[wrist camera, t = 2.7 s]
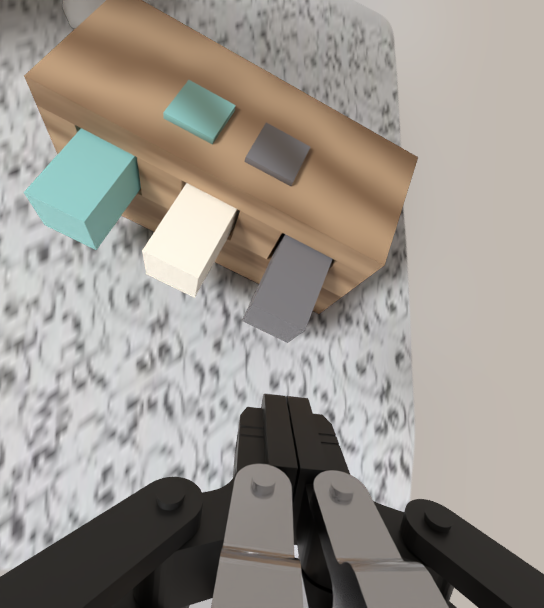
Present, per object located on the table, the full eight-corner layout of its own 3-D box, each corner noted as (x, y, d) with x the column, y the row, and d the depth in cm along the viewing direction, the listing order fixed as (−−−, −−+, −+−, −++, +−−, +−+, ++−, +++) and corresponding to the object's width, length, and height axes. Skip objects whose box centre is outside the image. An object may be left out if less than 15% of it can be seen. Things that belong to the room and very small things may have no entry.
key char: (287, 342, 28) (304, 330, 24) (241, 320, 28) (252, 304, 24) (327, 244, 32) (347, 220, 28) (287, 223, 31) (302, 197, 28)
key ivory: (194, 297, 27) (198, 278, 23) (146, 274, 27) (142, 250, 23) (247, 202, 31) (257, 172, 27) (205, 180, 31) (209, 147, 27)
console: (318, 314, 36) (388, 262, 24) (73, 191, 33) (20, 68, 22) (350, 230, 40) (421, 153, 28) (135, 116, 37) (118, -20, 26)
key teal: (96, 250, 26) (83, 222, 23) (44, 225, 26) (23, 192, 22) (162, 157, 30) (161, 121, 27) (118, 135, 30) (111, 94, 26)
